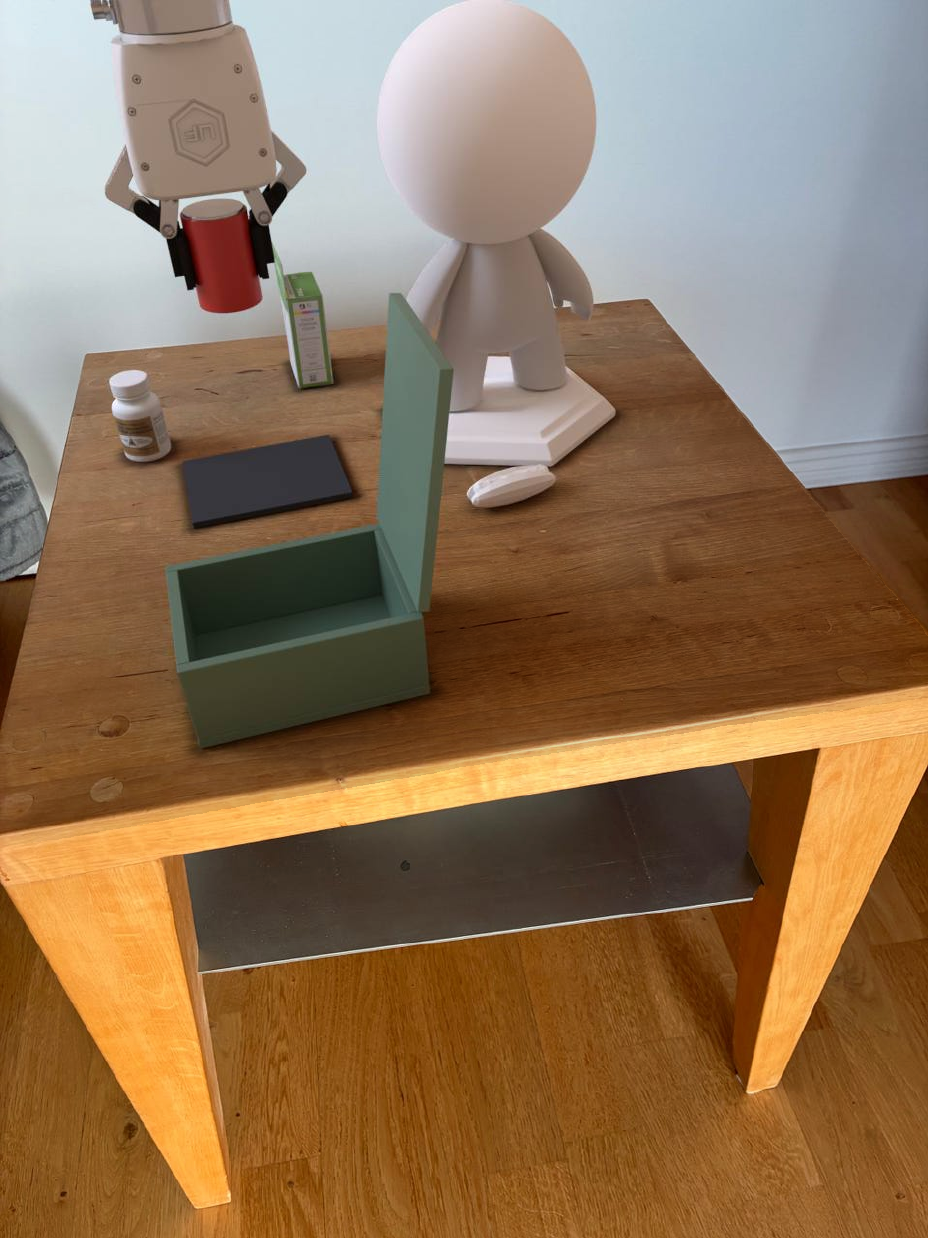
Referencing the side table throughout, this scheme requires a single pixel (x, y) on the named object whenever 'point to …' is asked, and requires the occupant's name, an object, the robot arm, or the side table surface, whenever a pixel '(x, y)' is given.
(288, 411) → the side table surface
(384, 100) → the white toy figurine
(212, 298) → the can
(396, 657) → the storage box
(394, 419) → the lid
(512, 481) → the white oval capsule
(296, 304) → the ink box
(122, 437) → the pill bottle
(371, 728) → the side table surface
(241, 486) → the mat
